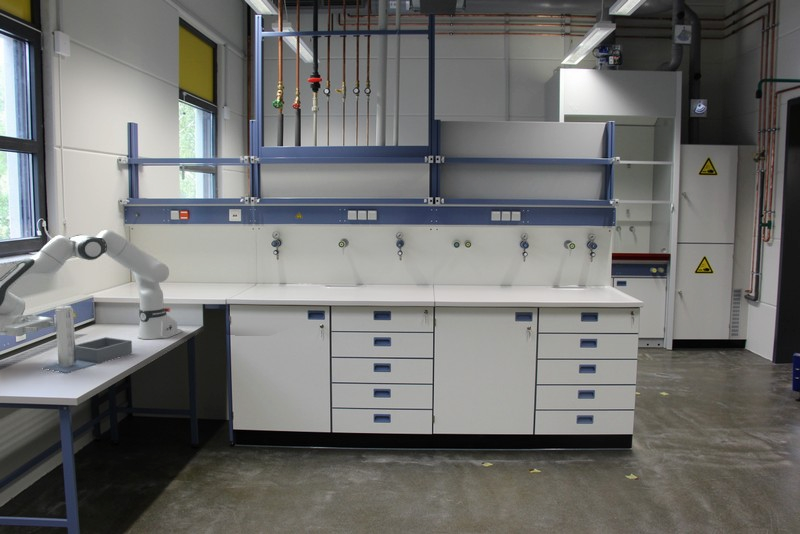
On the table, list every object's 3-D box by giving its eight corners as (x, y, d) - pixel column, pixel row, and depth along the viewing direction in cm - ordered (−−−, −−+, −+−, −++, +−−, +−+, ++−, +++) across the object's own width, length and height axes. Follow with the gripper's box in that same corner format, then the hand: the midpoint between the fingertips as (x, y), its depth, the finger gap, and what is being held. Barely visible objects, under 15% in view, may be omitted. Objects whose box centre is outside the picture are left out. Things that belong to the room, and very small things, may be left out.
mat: (72, 360, 257) (72, 359, 257) (96, 364, 252) (96, 363, 252) (42, 369, 245) (42, 367, 244) (66, 373, 239) (66, 371, 239)
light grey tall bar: (57, 368, 243) (53, 308, 240) (59, 364, 249) (55, 305, 246) (75, 367, 246) (72, 307, 243) (77, 362, 252) (73, 304, 249)
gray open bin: (106, 349, 275) (105, 337, 275) (132, 353, 269) (131, 340, 269) (71, 359, 259) (70, 346, 258) (98, 363, 253) (97, 350, 252)
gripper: (-5, 323, 240) (25, 325, 238) (35, 313, 260) (63, 315, 258) (-4, 338, 241) (26, 340, 238) (36, 327, 261) (64, 329, 258)
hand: (45, 327), depth 248 cm, fingers open, 8 cm apart
